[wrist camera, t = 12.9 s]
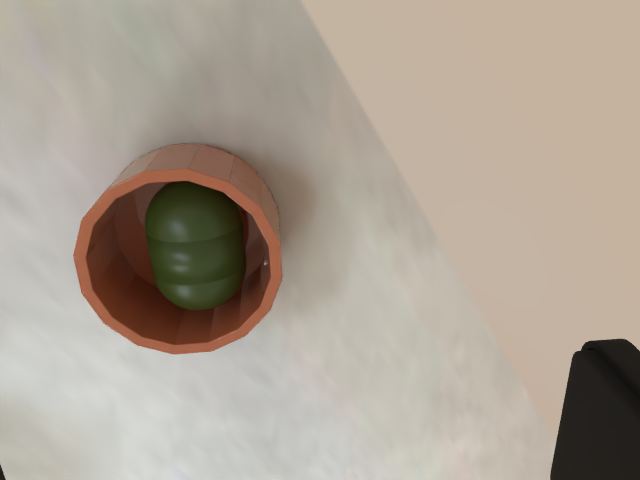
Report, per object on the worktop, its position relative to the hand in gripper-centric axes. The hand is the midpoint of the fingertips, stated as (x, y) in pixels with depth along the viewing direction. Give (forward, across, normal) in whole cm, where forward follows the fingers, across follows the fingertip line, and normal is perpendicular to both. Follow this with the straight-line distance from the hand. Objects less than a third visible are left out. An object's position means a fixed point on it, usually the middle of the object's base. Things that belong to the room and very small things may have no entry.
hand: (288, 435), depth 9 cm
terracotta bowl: (+24, +5, +6) cm, 26 cm away
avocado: (+24, +5, +6) cm, 25 cm away
